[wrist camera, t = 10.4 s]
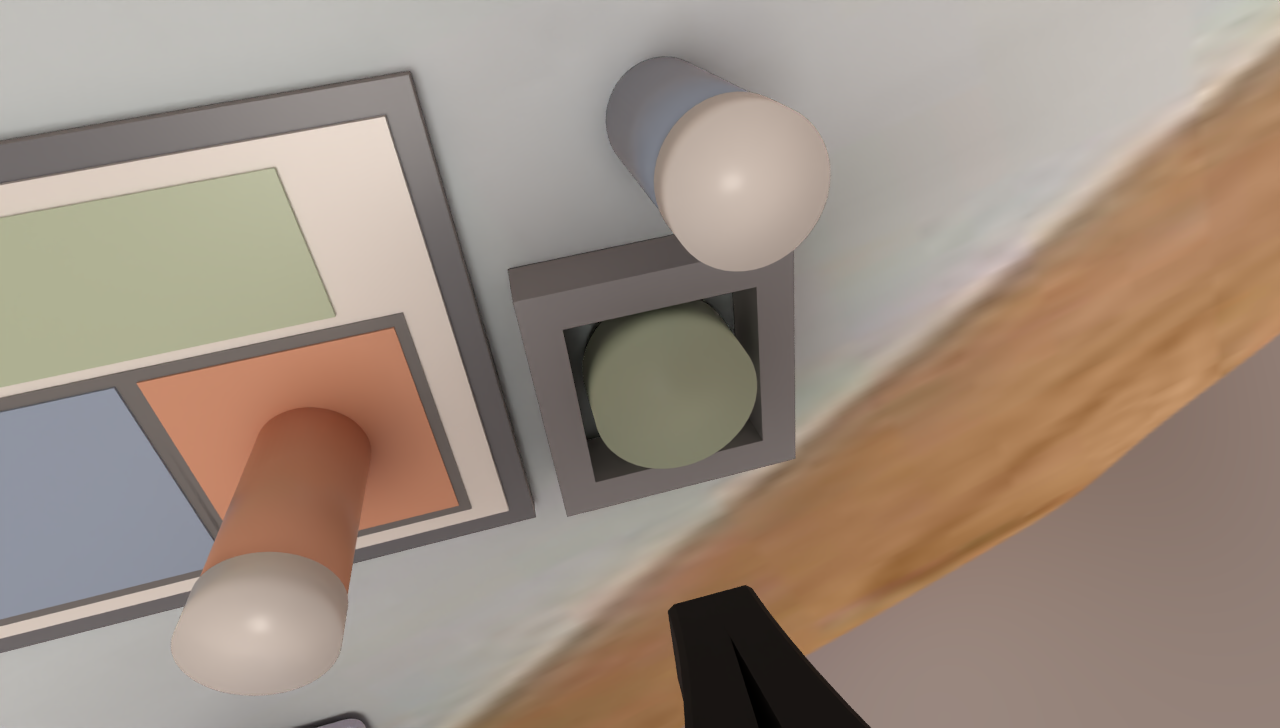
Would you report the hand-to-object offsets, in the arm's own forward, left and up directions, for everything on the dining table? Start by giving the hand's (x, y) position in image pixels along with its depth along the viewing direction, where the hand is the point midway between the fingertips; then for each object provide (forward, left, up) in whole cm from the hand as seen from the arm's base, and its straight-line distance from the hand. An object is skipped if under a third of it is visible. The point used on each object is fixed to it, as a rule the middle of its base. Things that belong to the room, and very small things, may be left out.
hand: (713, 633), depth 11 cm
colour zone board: (+2, +11, -10) cm, 15 cm away
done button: (-1, -1, -9) cm, 9 cm away
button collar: (0, -1, -10) cm, 10 cm away
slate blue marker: (+6, -2, -10) cm, 12 cm away
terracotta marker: (-1, +8, -9) cm, 12 cm away
